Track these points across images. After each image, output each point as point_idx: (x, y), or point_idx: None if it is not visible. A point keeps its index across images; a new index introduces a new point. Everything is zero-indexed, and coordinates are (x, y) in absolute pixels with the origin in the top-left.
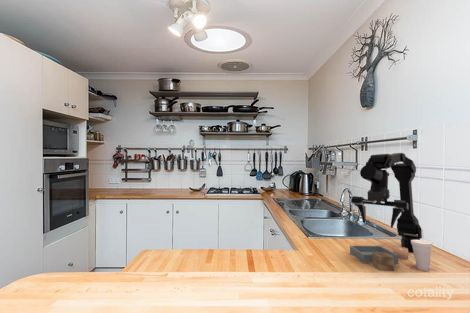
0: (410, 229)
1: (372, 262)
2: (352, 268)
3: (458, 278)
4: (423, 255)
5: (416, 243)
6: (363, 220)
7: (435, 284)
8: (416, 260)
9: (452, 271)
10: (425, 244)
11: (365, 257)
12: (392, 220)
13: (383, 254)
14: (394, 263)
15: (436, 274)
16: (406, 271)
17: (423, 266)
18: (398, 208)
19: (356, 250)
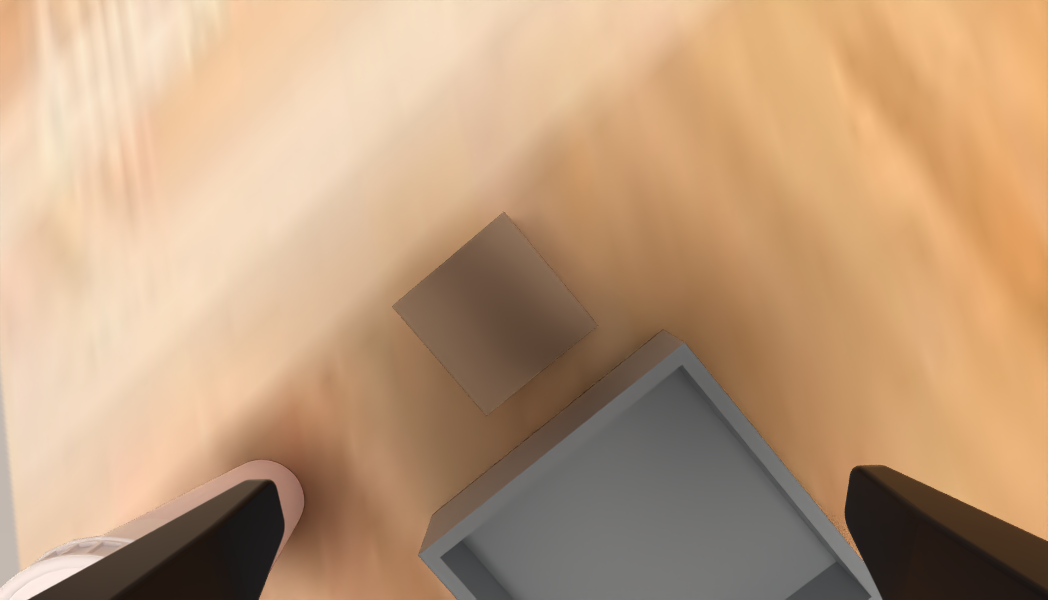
0: None
1: (604, 380)
2: (700, 119)
3: (45, 439)
4: (163, 505)
5: None
6: (930, 498)
7: (142, 189)
8: None
9: None
10: (33, 571)
11: (661, 351)
12: (112, 576)
13: (489, 327)
14: (459, 493)
15: (169, 429)
16: (347, 349)
17: (234, 471)
18: None
19: (783, 465)
